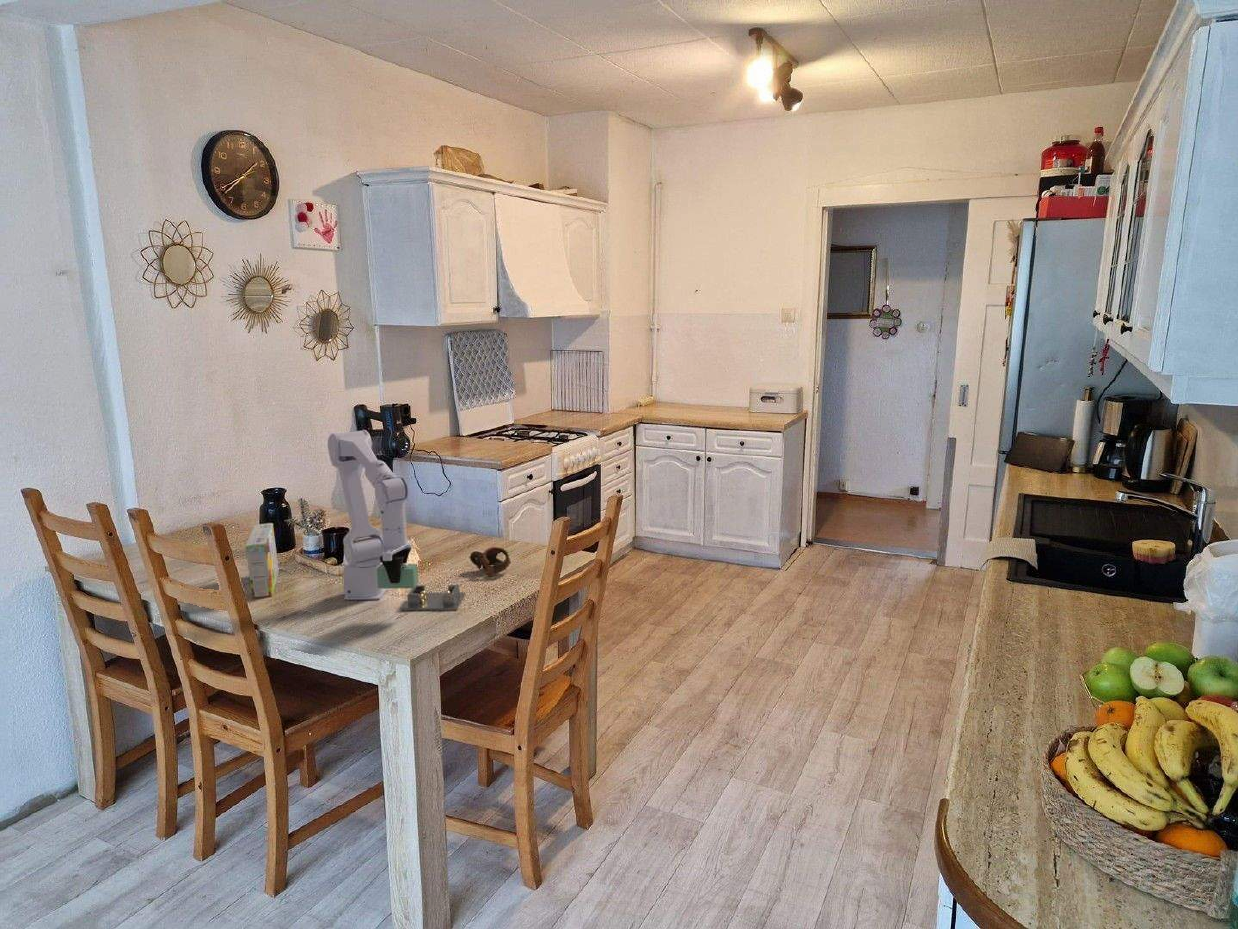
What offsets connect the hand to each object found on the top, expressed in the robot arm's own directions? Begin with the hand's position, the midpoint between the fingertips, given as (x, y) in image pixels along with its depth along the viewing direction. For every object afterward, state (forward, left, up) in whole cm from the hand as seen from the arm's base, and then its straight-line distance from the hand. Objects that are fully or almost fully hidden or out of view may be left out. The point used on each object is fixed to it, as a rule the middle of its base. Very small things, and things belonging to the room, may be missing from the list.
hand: (397, 579), depth 200 cm
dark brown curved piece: (+18, +32, -10) cm, 38 cm away
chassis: (+7, +8, -9) cm, 14 cm away
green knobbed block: (0, 0, -2) cm, 2 cm away
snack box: (-44, +23, -10) cm, 50 cm away
